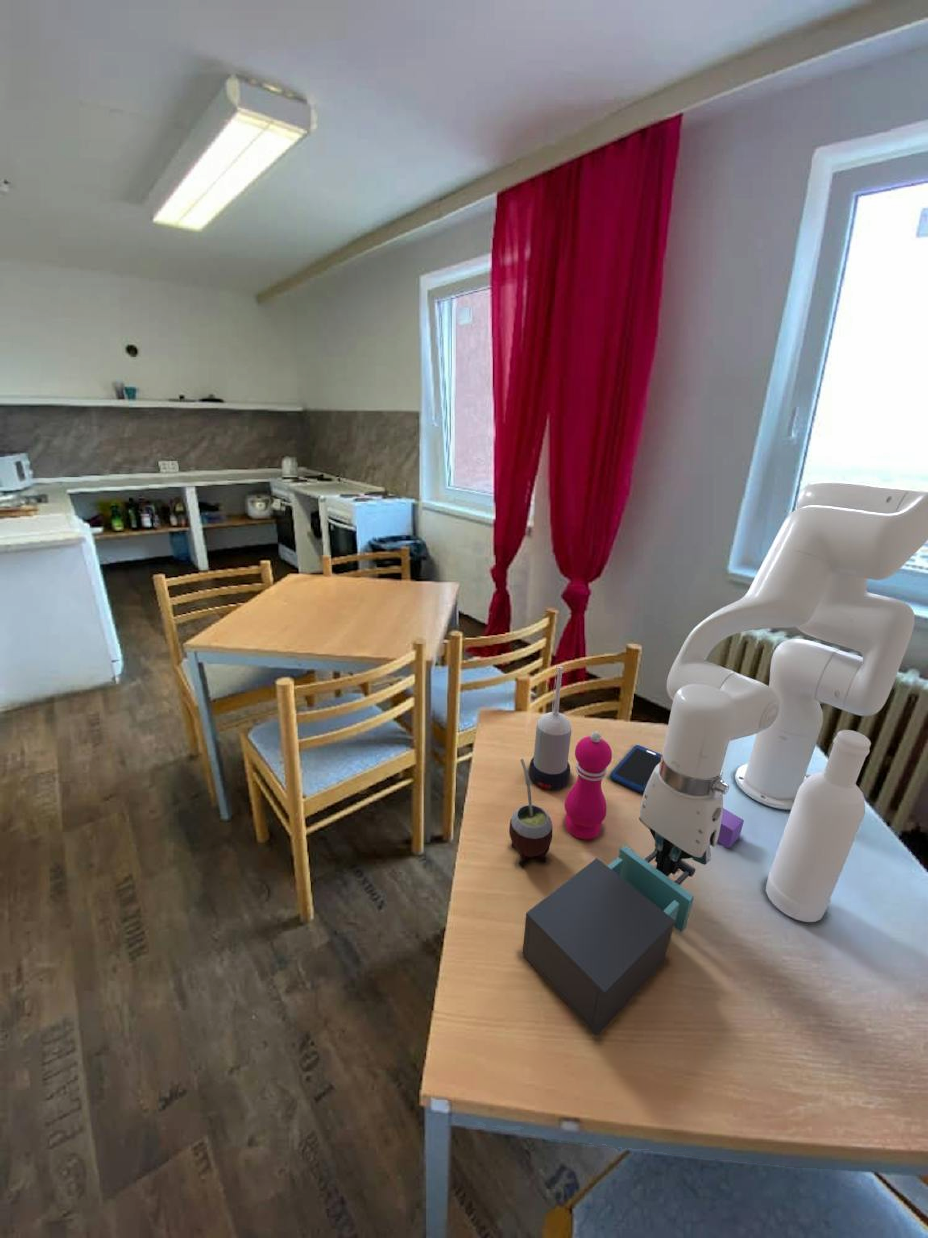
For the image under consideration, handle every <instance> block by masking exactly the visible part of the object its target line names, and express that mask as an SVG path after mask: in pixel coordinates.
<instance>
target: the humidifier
mask: <svg viewBox="0 0 928 1238" xmlns="http://www.w3.org/2000/svg"><path fill="white" fill-rule="evenodd" d="M555 672H557V674H555V676H554V686H553V689H552V690H553V693H552V694H553V695H552V701H554V702H553V703H552V707H551V711H549V712H547V713H545V714H543V715H541V716H540V717H539V719H538V720H537V722H536V728H535V737H534V738H535V739H534V751H533V757H532V758H531V759H530V762H529V768H528V775H529V778H530V782H531V783H533V784H534V786H536V787H537V788H540V789H542V790H547V791H558V790H562V789H564V788H566V786H568V784H569V783H570V776H571V765H570V763H569V756H570V755H569V754H570V746H571V740H572V739H571V738H572V724H571V722H570V720H569V719H568V718H567V716H565V715H564V714H563V713H561V712H560V711H559V710H560V700H561V699H560V698H561V687H562V678H563V666H558V664H556V667H555Z"/></svg>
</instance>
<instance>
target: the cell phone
mask: <svg viewBox="0 0 928 1238" xmlns="http://www.w3.org/2000/svg"><path fill="white" fill-rule="evenodd" d="M661 756H662V753H658V752H657V751H654V750H652V749H649V748H647V747H645V746H642V745H639V744H635V745H634V746H633V747H632V748H631V749H630V751H629V752H628V753H627V754H626V755H625V757H623V758H622V759H621V761H620V762H619V763H618V764H617V765H616V766H615V767H614V768H613V770H612V771H611V772H610V774H609V778H610V779H611V780H612V781H615V782H616V783H619V784H621V785H623V786H625V787H627V788H630V789H631V790H633V791H635V792H637V793H640V794H644V792H645V789H646V786H647V784H648V781H649V779H650V777H651V775H652V773H653V771H654V769H655V767H656V766H657V765H658V764H659V763H660V761H661Z"/></svg>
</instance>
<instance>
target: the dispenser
mask: <svg viewBox="0 0 928 1238" xmlns="http://www.w3.org/2000/svg"><path fill="white" fill-rule="evenodd" d="M524 922H525V923H524V933H523V943H522V953H521V954H522V956H523V957H524V958H525V959H526V960H527V961H528V962H529V963H530V965H531V966H532V967H533V968H534V969H535V970H536V971H537V972H538V974H539V975H540V976H541V977H542V978H543V979H544V980H545V981H546V982H547V984H548V985H549V986H550V987H551V988H552V989H553V990H554V991H555V992H556V994H558V996H560V998H561V999H562V1000H563V1001H564V1002H565V1003H566V1005H567V1006H568V1007H569V1008H570V1009H571V1010H572V1012H574V1013H575V1014H576V1016H577V1017H578V1018H579V1019H580V1020H581V1021H582V1022H583V1023H584V1024H585V1026H586V1027H587V1028H588V1029H589V1030H590V1031H591V1032H592V1033H593V1034H594V1035H595V1037H597V1036H598V1035H599V1034H600V1033H601V1032H602V1031H603V1030H604V1029H605V1028H606V1026H608V1025H609V1023H610V1022H611V1021H612V1020H613V1019H614V1018H615V1017H616V1016H617V1015H618V1014H619V1012H620V1011H621V1010H622V1009H623V1008H624V1007H625V1006H626V1005H627V1004H628V1002H630V1001H631V999H632V998H633V997H634V996H635V995H636V994H637V993H638V992H639V990H640V989H641V988H642V987H643V986H644V985H645V984H646V983H647V982H648V980H649V979H650V978H651V977H652V976H653V975H654V974H655V973H656V972H657V971H658V970H659V969H660V967H662V966H663V964H664V963H665V961H666V957H667V954H668V949H669V945H670V942H671V939H672V938H671V937H672V934H673V931H674V928H675V927H674V923H675V920H674V919H673V918H671V917H670V916H669V915H668V914H666V913H665V912H664V911H663V910H661V909H660V908H659V907H658V906H656V905H655V904H654V903H653V902H651V901H650V900H649V899H648V898H646V897H645V896H644V895H643V894H641V893H640V892H639V891H638V890H636V889H635V888H634V887H633V886H631V885H630V884H629V883H628V882H626V881H625V880H624V879H623V878H621V877H620V876H619V875H618V874H616V873H615V872H614V871H613V870H611V869H610V868H609V867H608V865H606V864H605V863H604V862H603V861H602V860H600V859H599V858H598V857H596V858H595V859H593V860H592V861H591V862H590V863H588V864H587V865H586V866H584V867H583V868H581V870H579V871H578V872H577V873H575V874H574V875H573V876H572V877H570V878H569V879H568V880H566V881H565V882H563V884H561V885H560V886H559V887H557V888H556V889H555V890H553V891H552V892H551V893H550V894H549V895H547V896H546V897H544V899H542V900H540V901H539V902H538V903H537V904H536V905H534V906H533V907H532V908H530V909H529V910H528V911H526V913H525V921H524ZM672 930H673V931H672Z"/></svg>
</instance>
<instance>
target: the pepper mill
mask: <svg viewBox="0 0 928 1238" xmlns="http://www.w3.org/2000/svg"><path fill="white" fill-rule="evenodd" d="M574 756H575V759H576V765H575V772H576V773H577V779H576V782H575V783H574V784H573V786H572V788H571V789H570V790H569V791H568V793H567V795H566V797H565V800H564V811H565V813H566V814H565V819H564V825H565V829H566V830H567V831H568V833H569V834H570V835H572V836H573V837H575V838H577V839H581V840H587V841H588V840H593V839H595V838H597V837H598V836H599V835H600V834H601V830H602V826H603V825H602V824H603V821H605V819H606V817H607V811H608V806H607V801H606V797H605V795H604V792H603V790H602V782H603V779H605V778H606V775H607V770H608V767H609V765H610V764H611V762H612V759H613V753H612V748H611V746H610V744H609V743H608V742H607V741H606V740H605V739H603V738H602V735H601V733H600V732H599V731H592V732H591V733H590V735H589V736H585V737H583V738H581V739H580V740H579V741H578V742H577V744H576V745H575V749H574Z"/></svg>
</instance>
